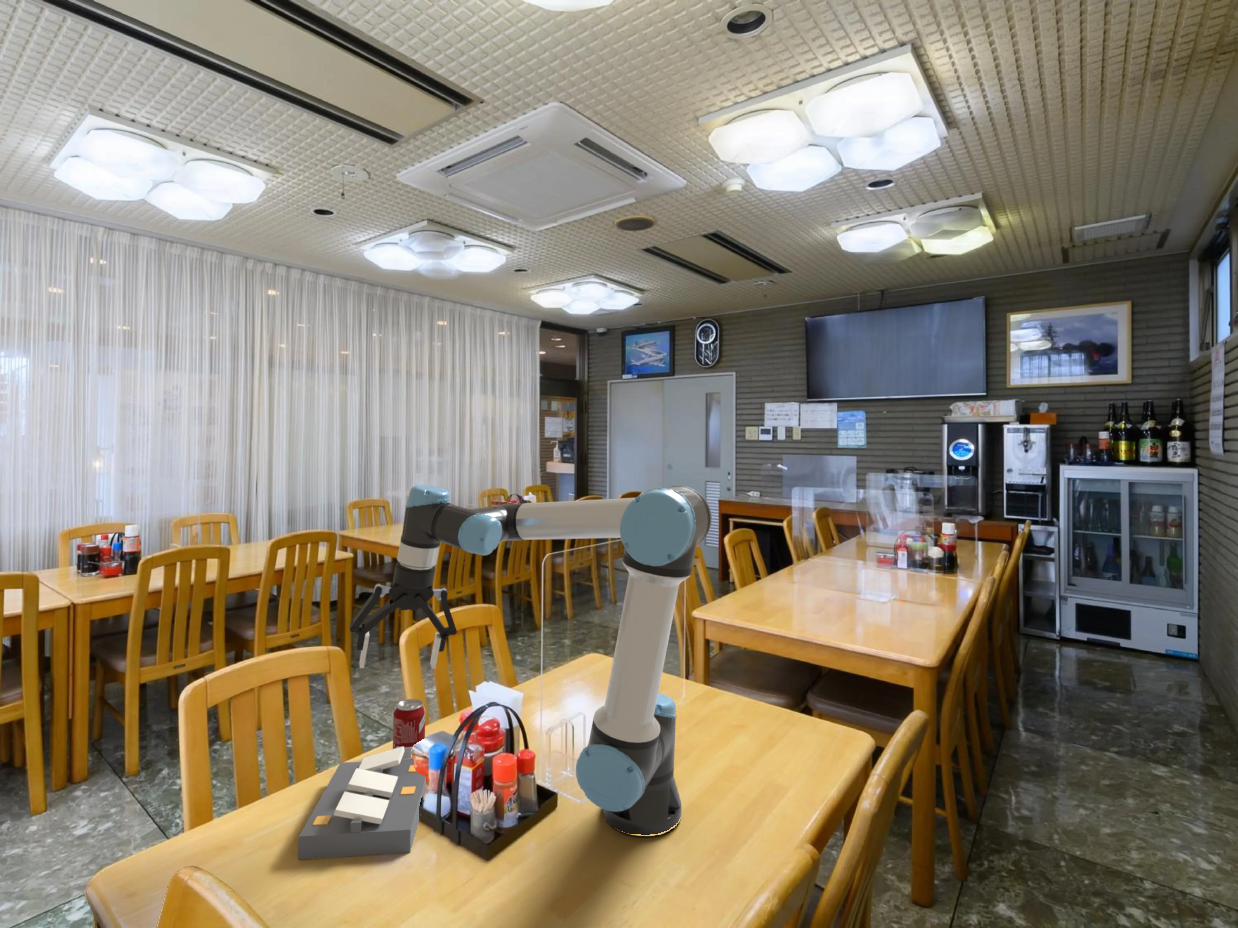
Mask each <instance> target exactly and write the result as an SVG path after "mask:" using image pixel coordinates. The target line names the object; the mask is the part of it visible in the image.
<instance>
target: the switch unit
mask: <svg viewBox="0 0 1238 928" xmlns="http://www.w3.org/2000/svg"><path fill="white" fill-rule="evenodd" d="M361 763H362V761H350V762H349V761H348V762H347V761H346V762H345V761H344V762H340V763H339V765H338V766H337V768H336V770H335V771H334V773H333V775H332V776H331V778H330V780H329V782H328V783H327V786H326V787H325V789H324V791H323V793H322V794H321V796H320V798H319V800H318V802H317V804H316V805H315V807H314V809H313V810H312V812H311V814H310V816H309V817H308V819H307V821H306V823H305V825H304V826H303V829H302V830H301V831H300V833H299V835H298V855H297V858H298V861H301V860H303V859H305V860H313V859H312V858H319V859H330V858H332V859H333V858H344V857H345V858H347V857H361V856H376V855H391V854H404V853H411V850H412V846H413V843H414V839H415V837H416V836H415V835H416V831H417V828H418V824H419V821H420V818H419V806H420V802H421V798H422V797H423V796H424V794H425V792H426V777H425V776H423V775H421V774H419V773H417V771H416V770H415V768H414V761H413V759H409V760H401V762H400V764H399V765H396V766H393V767H389V768H386V769H383V770H379V771H374V772H378V773H383V774H387V775H392V776H397V777H398V779H397V782H396V785H395V788H394V790H393V793H392V796H391V798H389V797H384V796H379V795H374V794H373V793H369V794H365V793H364V792H359V791H354V790H349V789H347V787H348V784H349V782H350V780H351V778H352V776H353V774H354V772H355V770H356V768H358V769H359V767H360V765H361ZM344 792H349V793H354V794H359V795H365V796H370V797H375V798H380V799H385V800H389V803H388V807H387V809H386V812H385V815H384V817H383V820H382V823H381V824H376V823H371V822H366V821H362V820H354V819H350V818H345V817H340V816H335V815H334V813H335V810H336V808H337V806H338V804H339V802H340V800H341V798H342V796H343V794H344ZM426 793H427V792H426ZM303 861H304V860H303Z"/></svg>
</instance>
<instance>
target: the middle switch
mask: <svg viewBox="0 0 1238 928" xmlns="http://www.w3.org/2000/svg"><path fill="white" fill-rule="evenodd" d="M397 779H398V777H397V776H392V775H387V774H383V773H378V772H373V771H368V770H363V769H358V768H356V770H355V772H354V774H353V776H352V778H351V780H350V782H349V784H348V787H347V789H349V790H354V791H359V792H364V793H365V794H369V793H373V794H374V795H379V796H384V797H389V798H391V796H392V793H393V790H394V788H395V785H396V782H397Z"/></svg>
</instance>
